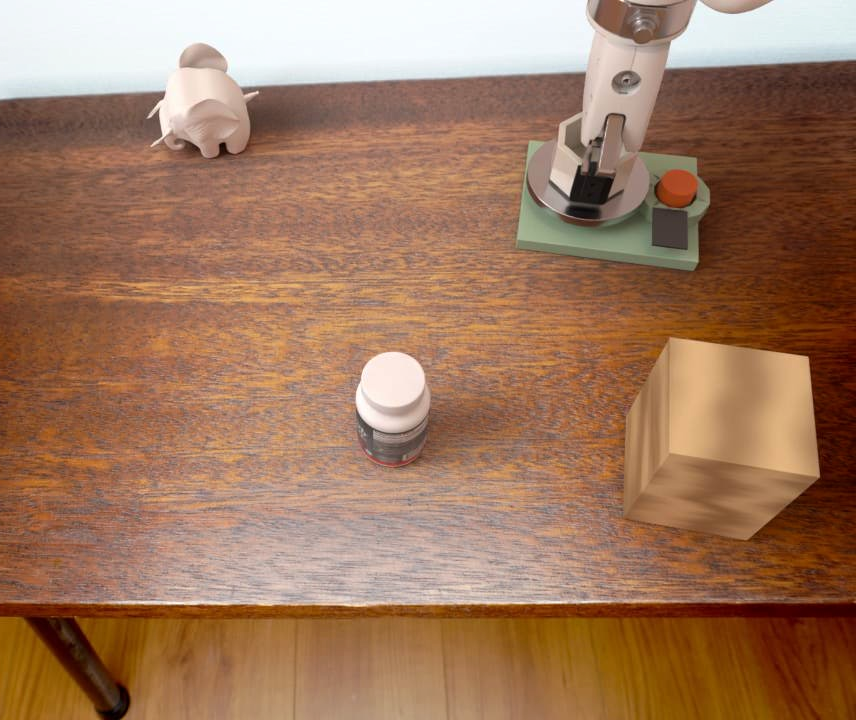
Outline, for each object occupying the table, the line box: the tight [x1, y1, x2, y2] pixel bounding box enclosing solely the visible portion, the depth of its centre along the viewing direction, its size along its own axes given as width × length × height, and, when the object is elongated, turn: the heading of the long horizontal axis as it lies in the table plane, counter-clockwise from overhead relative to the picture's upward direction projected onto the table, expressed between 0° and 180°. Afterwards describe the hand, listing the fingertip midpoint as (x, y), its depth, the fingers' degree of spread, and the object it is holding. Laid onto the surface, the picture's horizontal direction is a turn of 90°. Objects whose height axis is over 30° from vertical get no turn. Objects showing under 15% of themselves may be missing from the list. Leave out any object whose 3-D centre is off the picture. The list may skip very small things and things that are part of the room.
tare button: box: [656, 169, 698, 208], centre depth 75 cm, size 3×3×2 cm
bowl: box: [550, 111, 639, 197], centre depth 74 cm, size 7×7×4 cm
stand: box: [622, 336, 821, 541], centre depth 59 cm, size 9×9×12 cm
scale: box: [515, 139, 711, 272], centre depth 77 cm, size 17×13×3 cm
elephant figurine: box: [146, 42, 260, 159], centre depth 83 cm, size 10×12×9 cm
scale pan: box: [526, 136, 688, 250], centre depth 76 cm, size 14×12×1 cm
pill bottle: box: [354, 351, 431, 468], centre depth 63 cm, size 6×6×10 cm
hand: (589, 169), depth 75 cm, fingers closed on bowl, 6 cm apart
